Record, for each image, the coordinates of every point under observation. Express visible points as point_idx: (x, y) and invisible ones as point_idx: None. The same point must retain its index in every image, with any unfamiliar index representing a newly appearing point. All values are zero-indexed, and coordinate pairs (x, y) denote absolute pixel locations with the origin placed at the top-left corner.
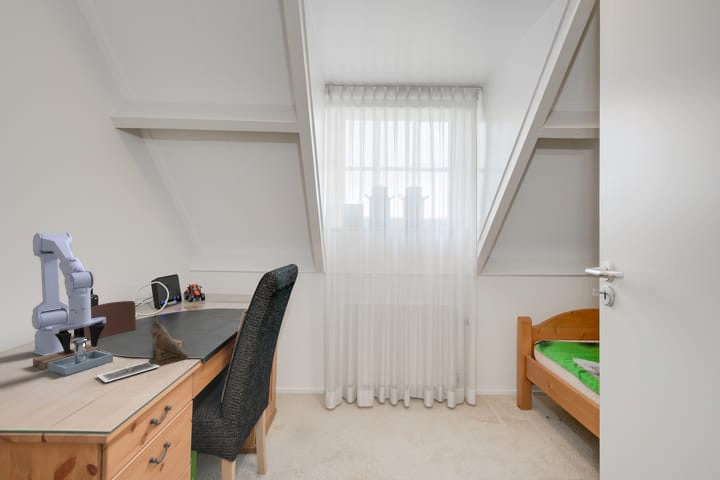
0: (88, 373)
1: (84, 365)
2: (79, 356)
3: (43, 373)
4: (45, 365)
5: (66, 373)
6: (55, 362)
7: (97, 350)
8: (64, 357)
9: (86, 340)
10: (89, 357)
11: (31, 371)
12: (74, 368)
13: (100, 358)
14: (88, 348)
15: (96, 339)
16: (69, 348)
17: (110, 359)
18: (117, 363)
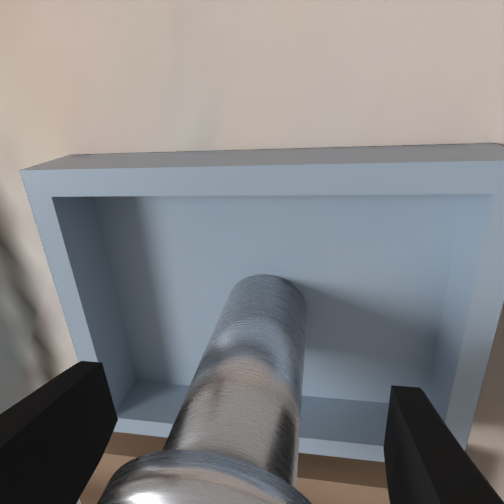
0: (344, 8)
1: (314, 156)
2: (280, 334)
3: (491, 389)
4: None
5: (496, 149)
6: None
7: None
8: (308, 474)
9: (144, 470)
10: (164, 385)
11: None
12: (419, 157)
13: (143, 166)
14: None
15: (10, 427)
16: (427, 444)
17: (73, 160)
18: (55, 54)
